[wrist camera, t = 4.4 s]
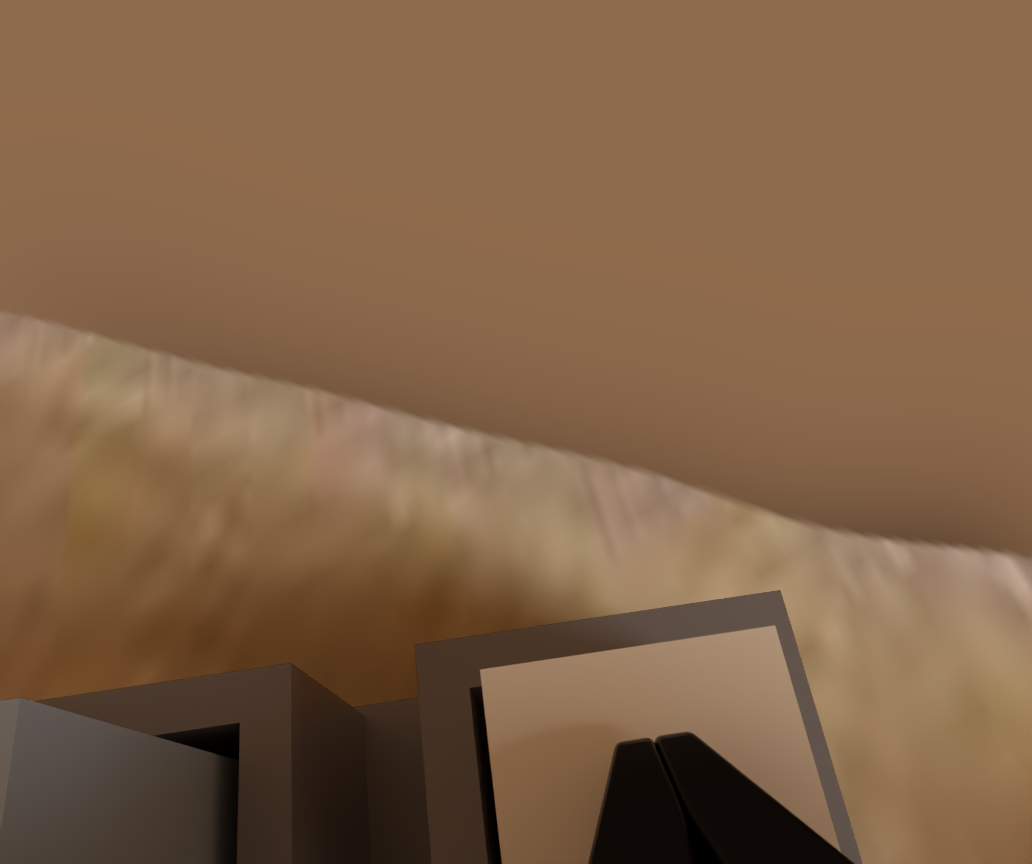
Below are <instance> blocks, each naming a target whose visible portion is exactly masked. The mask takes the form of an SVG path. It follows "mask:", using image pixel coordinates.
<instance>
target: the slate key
mask: <svg viewBox="0 0 1032 864" xmlns="http://www.w3.org/2000/svg"><path fill="white" fill-rule="evenodd" d="M238 788H239V761H238V760H235V759H231V758H228V757H224V756H221V755H217V754H214V753H210V752H207V751H203V750H200V749H196V748H193V747H190V746H186V745H183V744H179V743H176V742H172V741H169V740H165V739H162V738H158V737H155V736H152V735H148V734H145V733H141V732H138V731H134V730H131V729H127V728H124V727H120V726H117V725H113V724H110V723H107V722H103V721H100V720H96V719H93V718H89V717H86V716H82V715H79V714H75V713H72V712H68V711H65V710H62V709H58V708H55V707H51V706H48V705H44V704H41V703H37V702H34V701H30V700H27V699H24V698H14V699H8V700H1V701H0V864H237V831H238Z"/></svg>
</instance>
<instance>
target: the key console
mask: <svg viewBox="0 0 1032 864" xmlns="http://www.w3.org/2000/svg"><path fill="white" fill-rule="evenodd" d="M774 625H775V627H776V630H777V633H778V637H779V640H780V644H781V647H782V651H783V654H784V658H785V661H786V664H787V668H788V671H789V675H790V678H791V682H792V685H793V689H794V692H795V695H796V699H797V702H798V706H799V709H800V713H801V716H802V720H803V723H804V726H805V730H806V733H807V737H808V740H809V744H810V747H811V751H812V754H813V757H814V761H815V764H816V768H817V771H818V775H819V778H820V782H821V785H822V788H823V792H824V795H825V799H826V802H827V806H828V809H829V813H830V816H831V819H832V823H833V826H834V830H835V833H836V837H837V840H838V844H839V847H840V850H841V853H842V854H844V855H845V856H846V857H847V858H849V859H850V860H851V861H852V862H854V863H855V864H862V861H861V858H860V854H859V851H858V848H857V844H856V841H855V838H854V834H853V831H852V828H851V824H850V821H849V818H848V814H847V811H846V808H845V804H844V801H843V798H842V794H841V791H840V788H839V784H838V781H837V778H836V774H835V771H834V768H833V764H832V761H831V758H830V754H829V751H828V747H827V744H826V741H825V737H824V734H823V731H822V727H821V724H820V721H819V717H818V714H817V711H816V707H815V704H814V701H813V697H812V694H811V691H810V687H809V684H808V681H807V677H806V674H805V671H804V667H803V664H802V661H801V657H800V654H799V651H798V647H797V644H796V641H795V637H794V634H793V631H792V627H791V624H790V621H789V617H788V614H787V611H786V607H785V604H784V601H783V597H782V594H781V591H780V590H778V591H771V592H764V593H758V594H751V595H744V596H737V597H731V598H724V599H717V600H711V601H704V602H697V603H690V604H684V605H677V606H670V607H664V608H657V609H650V610H643V611H637V612H630V613H623V614H617V615H610V616H603V617H597V618H590V619H583V620H576V621H570V622H563V623H556V624H550V625H543V626H536V627H529V628H523V629H516V630H509V631H503V632H496V633H489V634H482V635H476V636H469V637H462V638H456V639H449V640H442V641H435V642H429V643H422V644H415V656H416V669H417V682H418V695H419V697H418V698H412V699H405V700H398V701H392V702H385V703H378V704H372V705H365V706H359V707H352V706H351V705H349V704H348V703H346V702H345V701H344V700H342V699H341V698H339V697H338V696H337V695H335V694H334V693H332V692H331V691H330V690H328V689H327V688H325V687H324V686H322V685H321V684H320V683H318V682H317V681H315V680H314V679H313V678H311V677H310V676H308V675H307V674H306V673H304V672H303V671H301V670H300V669H299V668H297V667H296V666H294V665H293V664H292V663H288V664H281V665H274V666H268V667H261V668H254V669H247V670H241V671H234V672H227V673H221V674H214V675H207V676H200V677H194V678H187V679H180V680H174V681H167V682H160V683H153V684H147V685H140V686H133V687H127V688H120V689H113V690H106V691H100V692H93V693H86V694H80V695H73V696H66V697H59V698H53V699H46V700H39V701H34V702H37V703H41V704H44V705H48V706H51V707H55V708H58V709H62V710H65V711H68V712H72V713H75V714H79V715H82V716H86V717H89V718H93V719H96V720H100V721H103V722H107V723H110V724H113V725H117V726H120V727H124V728H127V729H131V730H134V731H138V732H141V733H145V734H148V735H152V736H155V737H158V738H162V739H165V740H169V741H172V742H176V743H179V744H183V745H186V746H190V747H193V748H196V749H200V750H203V751H207V752H210V753H214V754H217V755H221V756H224V757H228V758H231V759H235V760H238V761H239V788H238V831H237V864H502V859H501V851H500V842H499V833H498V824H497V815H496V807H495V798H494V789H493V780H492V771H491V763H490V754H489V745H488V736H487V727H486V719H485V710H484V701H483V692H482V683H481V675H480V670H481V669H487V668H494V667H501V666H507V665H514V664H521V663H527V662H534V661H541V660H548V659H554V658H561V657H568V656H574V655H581V654H588V653H594V652H601V651H608V650H614V649H621V648H628V647H634V646H641V645H648V644H654V643H661V642H668V641H674V640H681V639H688V638H694V637H701V636H708V635H714V634H721V633H728V632H734V631H741V630H748V629H754V628H761V627H768V626H774Z"/></svg>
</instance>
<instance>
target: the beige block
mask: <svg viewBox="0 0 1032 864" xmlns="http://www.w3.org/2000/svg"><path fill="white" fill-rule="evenodd" d="M480 675H481V683H482V692H483V701H484V710H485V719H486V727H487V736H488V745H489V754H490V763H491V771H492V780H493V789H494V798H495V807H496V815H497V824H498V833H499V842H500V851H501V859H502V864H588V861H589V857H590V852H591V848H592V844H593V839H594V835H595V831H596V826H597V822H598V817H599V813H600V809H601V804H602V800H603V796H604V791H605V787H606V782H607V778H608V774H609V769H610V765H611V761H612V756H613V752H614V748H615V746H616V744H617V743H618V742H621V741H627V740H634V739H640V738H650V739H652V740H653V741H654V742H655V739H656V738H657V737H658V736H660V735H666V734H673V733H679V732H691V733H694V734H695V735H696V736H698V737H699V738H700V739H701V740H703V741H704V742H705V743H706V744H708V745H709V746H710V747H711V748H712V749H714V750H715V751H716V752H717V753H719V754H720V755H721V756H722V757H724V758H725V759H726V760H727V761H729V762H730V763H731V764H732V765H734V766H735V767H736V768H737V769H738V770H740V771H741V772H742V773H743V774H745V775H746V776H747V777H748V778H750V779H751V780H752V781H753V782H755V783H756V784H757V785H758V786H760V787H761V788H762V789H763V790H764V791H766V792H767V793H768V794H769V795H771V796H772V797H773V798H774V799H776V800H777V801H778V802H779V803H781V804H782V805H783V806H784V807H786V808H787V809H788V810H789V811H790V812H792V813H793V814H794V815H795V816H797V817H798V818H799V819H800V820H802V821H803V822H804V823H805V824H807V825H808V826H809V827H810V828H811V829H813V830H814V831H815V832H816V833H818V834H819V835H820V836H821V837H823V838H824V839H825V840H826V841H828V842H829V843H830V844H831V845H833V846H834V847H835V848H836V849H837V850H839V851H840V852H841V850H840V847H839V844H838V840H837V837H836V833H835V830H834V826H833V823H832V819H831V816H830V813H829V809H828V806H827V802H826V799H825V795H824V792H823V788H822V785H821V782H820V778H819V775H818V771H817V768H816V764H815V761H814V757H813V754H812V751H811V747H810V744H809V740H808V737H807V733H806V730H805V726H804V723H803V720H802V716H801V713H800V709H799V706H798V702H797V699H796V695H795V692H794V689H793V685H792V682H791V678H790V675H789V671H788V668H787V664H786V661H785V658H784V654H783V651H782V647H781V644H780V640H779V637H778V633H777V630H776V627H775V625H774V626H768V627H761V628H754V629H748V630H741V631H734V632H728V633H721V634H714V635H708V636H701V637H694V638H688V639H681V640H674V641H668V642H661V643H654V644H648V645H641V646H634V647H628V648H621V649H614V650H608V651H601V652H594V653H588V654H581V655H574V656H568V657H561V658H554V659H548V660H541V661H534V662H527V663H521V664H514V665H507V666H501V667H494V668H487V669H481V670H480Z"/></svg>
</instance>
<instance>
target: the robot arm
mask: <svg viewBox="0 0 1032 864" xmlns="http://www.w3.org/2000/svg"><path fill="white" fill-rule="evenodd" d="M588 864H855V863H854V862H852V861H851V860H850V859H849V858H847V857H846V856H845V855H844V854H842V853H841V852H840V851H839V850H837V849H836V848H835V847H834V846H833V845H831V844H830V843H829V842H828V841H826V840H825V839H824V838H823V837H821V836H820V835H819V834H818V833H816V832H815V831H814V830H813V829H811V828H810V827H809V826H808V825H807V824H805V823H804V822H803V821H802V820H800V819H799V818H798V817H797V816H795V815H794V814H793V813H792V812H790V811H789V810H788V809H787V808H786V807H784V806H783V805H782V804H781V803H779V802H778V801H777V800H776V799H774V798H773V797H772V796H771V795H769V794H768V793H767V792H766V791H764V790H763V789H762V788H761V787H760V786H758V785H757V784H756V783H755V782H753V781H752V780H751V779H750V778H748V777H747V776H746V775H745V774H743V773H742V772H741V771H740V770H738V769H737V768H736V767H735V766H734V765H732V764H731V763H730V762H729V761H727V760H726V759H725V758H724V757H722V756H721V755H720V754H719V753H717V752H716V751H715V750H714V749H712V748H711V747H710V746H709V745H708V744H706V743H705V742H704V741H703V740H701V739H700V738H699V737H698V736H696V735H695V734H694V733H691V732H679V733H673V734H666V735H660V736H658V737H657V738H656V739H655V742H654V741H653V740H652V739H650V738H640V739H634V740H627V741H621V742H618V743H617V744H616V746H615V748H614V752H613V756H612V761H611V765H610V769H609V774H608V778H607V782H606V787H605V791H604V796H603V800H602V804H601V809H600V813H599V817H598V822H597V826H596V831H595V835H594V839H593V844H592V848H591V852H590V857H589V861H588Z"/></svg>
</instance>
